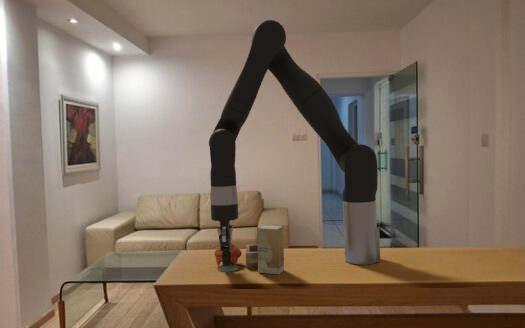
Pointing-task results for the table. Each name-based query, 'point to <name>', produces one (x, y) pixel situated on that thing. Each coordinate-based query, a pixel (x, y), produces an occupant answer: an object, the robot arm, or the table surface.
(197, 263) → the table surface
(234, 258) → the pot
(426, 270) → the table surface
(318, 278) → the table surface
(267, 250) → the skincare box
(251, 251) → the open wooden box
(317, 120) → the robot arm
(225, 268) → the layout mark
